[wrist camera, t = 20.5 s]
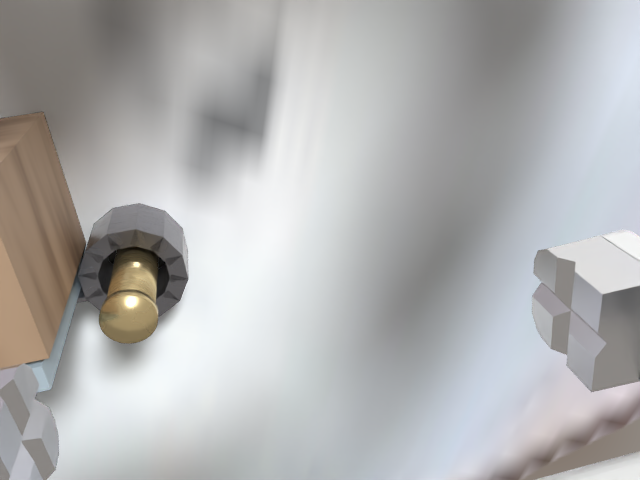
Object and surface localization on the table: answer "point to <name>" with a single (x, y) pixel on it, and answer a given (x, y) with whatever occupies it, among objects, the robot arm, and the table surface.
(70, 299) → the cabinet door
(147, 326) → the hinge pin
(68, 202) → the cabinet
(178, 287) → the grey hollow ring
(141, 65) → the table surface
